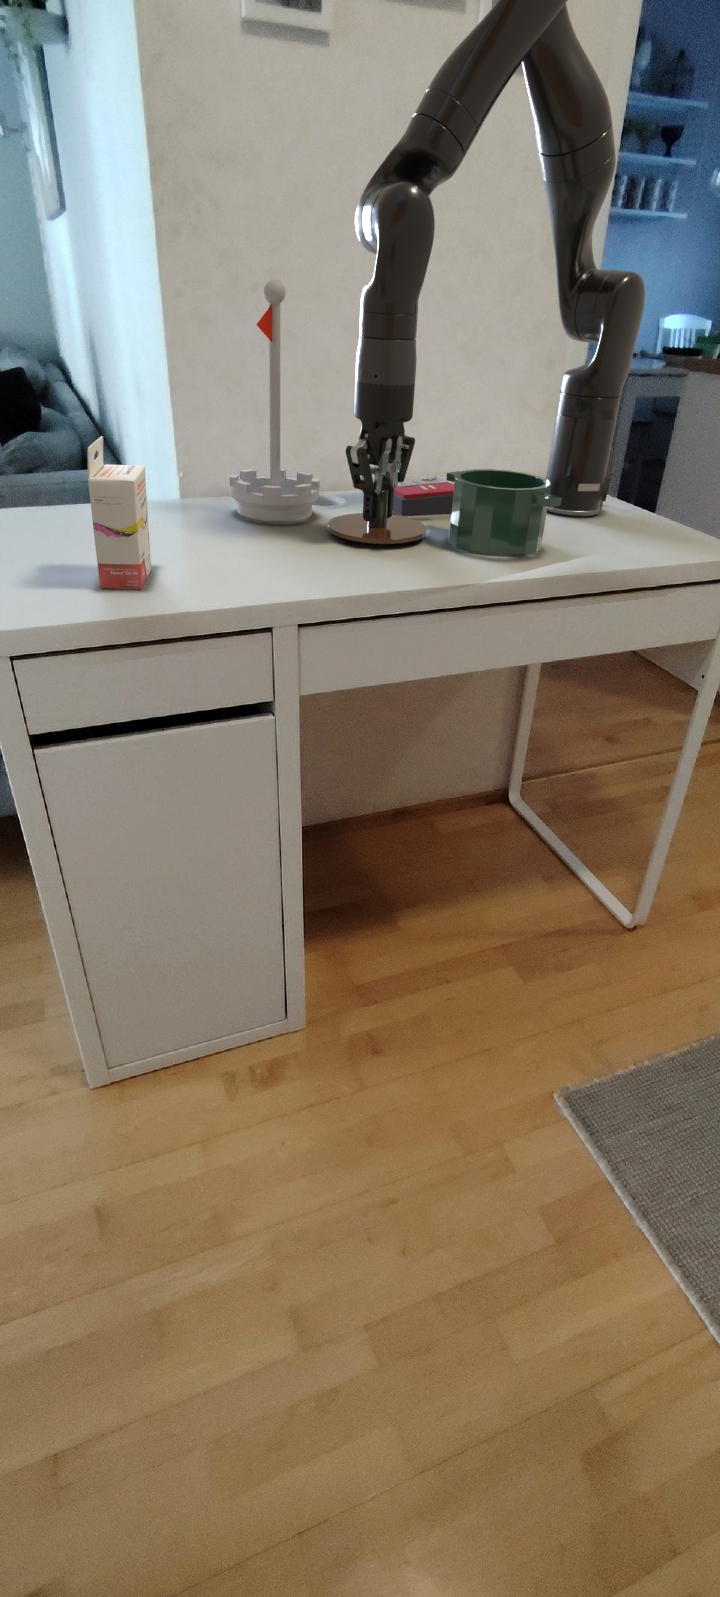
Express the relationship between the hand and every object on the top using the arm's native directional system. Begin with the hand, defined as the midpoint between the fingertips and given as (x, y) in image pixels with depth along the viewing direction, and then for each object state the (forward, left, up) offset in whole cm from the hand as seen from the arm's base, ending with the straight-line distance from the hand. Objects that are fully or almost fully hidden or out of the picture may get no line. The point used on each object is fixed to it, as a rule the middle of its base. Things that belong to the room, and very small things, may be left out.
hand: (377, 518), depth 115 cm
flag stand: (+4, -18, -3) cm, 19 cm away
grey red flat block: (-20, -9, -3) cm, 22 cm away
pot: (-12, +11, -3) cm, 16 cm away
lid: (0, 0, -1) cm, 1 cm away
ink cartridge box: (+36, -3, -3) cm, 36 cm away
